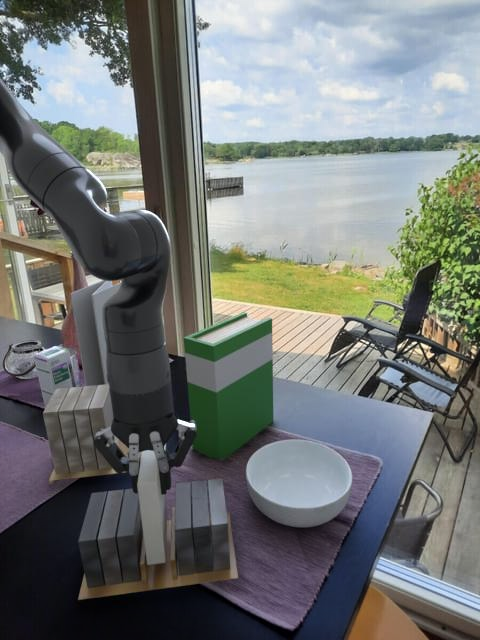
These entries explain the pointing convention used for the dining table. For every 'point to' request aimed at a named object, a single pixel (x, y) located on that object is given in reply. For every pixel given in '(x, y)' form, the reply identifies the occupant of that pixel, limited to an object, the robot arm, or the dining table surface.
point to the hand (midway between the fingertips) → (152, 491)
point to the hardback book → (230, 383)
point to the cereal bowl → (298, 482)
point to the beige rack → (79, 431)
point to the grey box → (92, 329)
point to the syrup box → (54, 371)
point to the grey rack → (181, 545)
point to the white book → (152, 509)
